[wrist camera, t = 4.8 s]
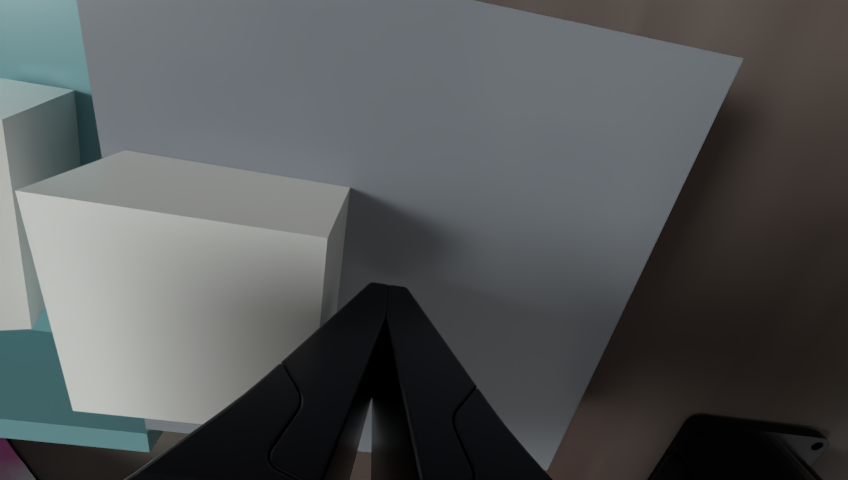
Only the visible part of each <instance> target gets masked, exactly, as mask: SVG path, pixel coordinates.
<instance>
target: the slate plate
mask: <svg viewBox="0 0 848 480" xmlns="http://www.w3.org/2000/svg"><path fill="white" fill-rule="evenodd" d="M76 1H77V7H78V13H79V19H80V26H81V32H82V38H83V44H84V50H85V56H86V63H87V69H88V75H89V81H90V87H91V93H92V100H93V106H94V112H95V118H96V124H97V130H98V136H99V143H100V149H101V155H102V159H103V158H105V157H108V156H111V155H114V154H116V153H119V152H122V151H125V150H127V151H133V152H140V153H146V154H152V155H158V156H164V157H170V158H176V159H182V160H188V161H194V162H200V163H206V164H212V165H218V166H224V167H230V168H236V169H242V170H248V171H254V172H260V173H266V174H272V175H278V176H285V177H291V178H297V179H303V180H309V181H315V182H321V183H327V184H333V185H339V186H345V187H350V194H349V203H348V212H347V221H346V230H345V239H344V249H343V258H342V267H341V276H340V285H339V294H338V303H337V312H338V311H339V310H340V309H341V308H342V307H343V306H344V305H345V304H347V303H348V302H349V301H350V300H351V299H352V298H353V297H354V296H355V295H357V294H358V293H359V292H360V291H361V290H362V289H363V288H364V287H366V286H367V285H368V284H369V283H371V282H376V283H382V284H387V285H396V286H403V287H406V288H408V290H409V291H410V292H411V294H412V295H413V297H414V298H415V300H416V301H417V302H418V304H419V305H420V307H421V308H422V309H423V311H424V312H425V314H426V315H427V317H428V318H429V319H430V321H431V322H432V324H433V325H434V326H435V328H436V329H437V331H438V332H439V334H440V335H441V336H442V338H443V339H444V341H445V342H446V343H447V345H448V346H449V348H450V349H451V350H452V352H453V353H454V355H455V356H456V358H457V359H458V360H459V362H460V363H461V365H462V366H463V367H464V369H465V370H466V372H467V373H468V375H469V376H470V377H471V379H472V380H473V382H474V383H475V384H476V386H477V388H476V389H479V390H480V391H481V393H482V394H483V395H484V397H485V398H486V400H487V401H488V403H489V404H490V405H491V407H492V408H493V409H494V411H495V412H496V413H497V415H498V416H499V417H500V419H501V420H502V421H503V423H504V424H505V425H506V426H507V428H508V429H509V430H510V431H511V432H512V434H513V435H514V436H515V437H516V438H517V439H518V441H519V442H520V443H521V444H522V445H523V447H524V448H525V449H526V450H527V451H528V453H529V454H530V455H531V456H532V457H533V458H534V459H535V461H536V462H537V463H538V464H539V465H540V466H541V467H542V468H543V470H548V468H549V465H550V463H551V461H552V459H553V457H554V455H555V453H556V451H557V449H558V447H559V445H560V442H561V440H562V438H563V436H564V434H565V432H566V430H567V428H568V426H569V424H570V421H571V419H572V417H573V415H574V413H575V411H576V409H577V407H578V405H579V403H580V400H581V398H582V396H583V394H584V392H585V390H586V388H587V386H588V384H589V382H590V379H591V377H592V375H593V373H594V371H595V369H596V367H597V365H598V363H599V361H600V359H601V356H602V354H603V352H604V350H605V348H606V346H607V344H608V342H609V340H610V338H611V335H612V333H613V331H614V329H615V327H616V325H617V323H618V321H619V319H620V317H621V314H622V312H623V310H624V308H625V306H626V304H627V302H628V300H629V298H630V296H631V294H632V291H633V289H634V287H635V285H636V283H637V281H638V279H639V277H640V275H641V273H642V270H643V268H644V266H645V264H646V262H647V260H648V258H649V256H650V254H651V252H652V249H653V247H654V245H655V243H656V241H657V239H658V237H659V235H660V233H661V231H662V228H663V226H664V224H665V222H666V220H667V218H668V216H669V214H670V212H671V210H672V208H673V205H674V203H675V201H676V199H677V197H678V195H679V193H680V191H681V189H682V187H683V184H684V182H685V180H686V178H687V176H688V174H689V172H690V170H691V168H692V166H693V163H694V161H695V159H696V157H697V155H698V153H699V151H700V149H701V147H702V145H703V143H704V140H705V138H706V136H707V134H708V132H709V130H710V128H711V126H712V124H713V122H714V119H715V117H716V115H717V113H718V111H719V109H720V107H721V105H722V103H723V101H724V98H725V96H726V94H727V92H728V90H729V88H730V86H731V84H732V82H733V80H734V77H735V75H736V73H737V71H738V69H739V67H740V65H741V63H742V61H743V59H744V58H739V57H734V56H730V55H725V54H720V53H716V52H711V51H707V50H702V49H697V48H693V47H688V46H683V45H679V44H674V43H669V42H665V41H660V40H656V39H651V38H646V37H642V36H637V35H632V34H628V33H623V32H618V31H614V30H609V29H604V28H600V27H595V26H591V25H586V24H581V23H577V22H572V21H567V20H563V19H558V18H553V17H549V16H544V15H539V14H535V13H530V12H526V11H521V10H516V9H512V8H507V7H502V6H498V5H493V4H488V3H484V2H479V1H475V0H76ZM144 420H145V426H146V429H150V430H160V431H170V432H179V433H189V434H190V433H191V432H192V431H194V430H195V429H197V428H198V427H199V426H201V425H202V424H194V423H184V422H175V421H165V420H156V419H146V418H144ZM371 448H372V398H371V402H370V406H369V410H368V413H367V417H366V421H365V424H364V428H363V432H362V435H361V439H360V443H359V446H358V450H357V451H363V452H371Z"/></svg>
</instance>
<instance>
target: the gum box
mask: <svg viewBox="0 0 848 480" xmlns="http://www.w3.org/2000/svg"><path fill="white" fill-rule="evenodd" d="M0 480H36V479H35V478H34V476H33V475H32V474H31V473H30V471H29V470H28V468H27V467H26V465H25V464H24V463H23V462H22V460H21V459H20V458H19V457H18V456H17V454H16V453H15V451H14V450H13V448H12V447H11V445H10V444H9V443H8V441H7V440H6V438H0Z"/></svg>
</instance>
